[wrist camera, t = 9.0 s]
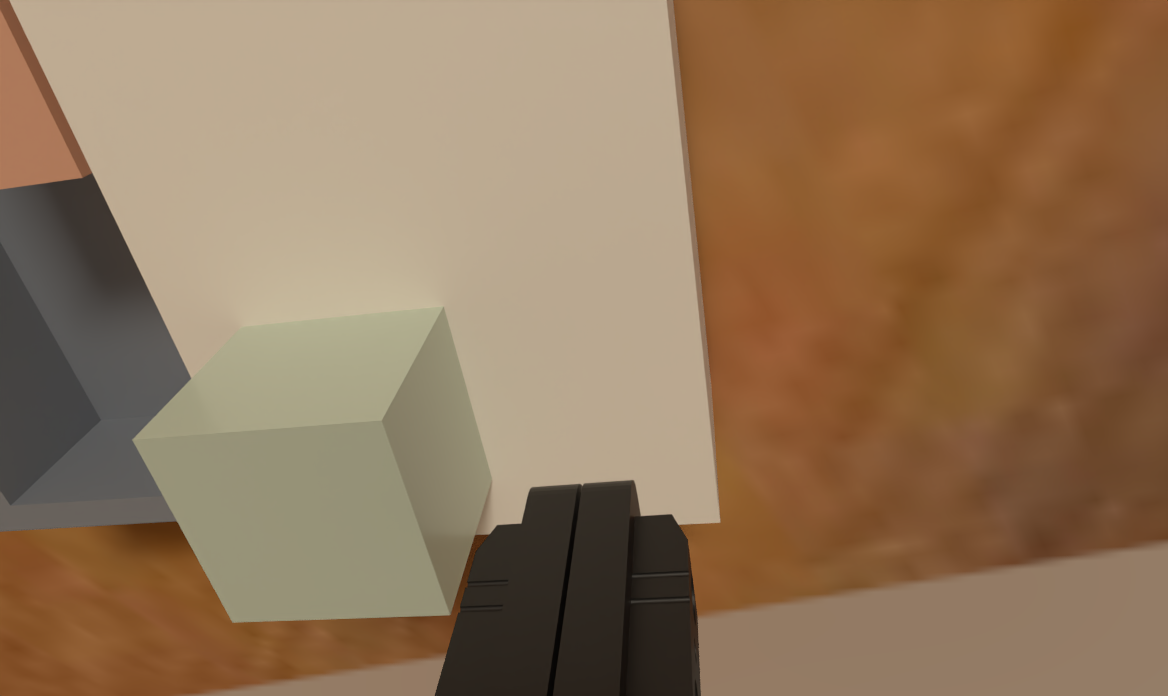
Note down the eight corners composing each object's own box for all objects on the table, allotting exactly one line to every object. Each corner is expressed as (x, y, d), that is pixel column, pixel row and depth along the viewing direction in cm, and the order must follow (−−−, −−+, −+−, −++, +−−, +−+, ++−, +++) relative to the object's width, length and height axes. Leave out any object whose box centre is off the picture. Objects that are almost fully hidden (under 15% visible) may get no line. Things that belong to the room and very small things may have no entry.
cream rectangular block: (644, -292, 14) (629, -368, 9) (711, 387, 20) (720, 522, 16) (128, -176, 15) (-85, -195, 11) (350, 416, 22) (271, 545, 18)
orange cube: (-38, -69, 12) (-219, -31, 13) (82, 177, 14) (-81, 200, 15) (116, -81, 16) (-33, -51, 16) (197, 119, 18) (60, 140, 18)
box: (128, -176, 15) (-31, -191, 12) (350, 416, 22) (290, 514, 19) (-210, -100, 17) (-439, -94, 13) (98, 436, 24) (-1, 531, 20)
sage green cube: (443, 306, 14) (382, 420, 11) (492, 479, 16) (450, 615, 13) (241, 327, 15) (131, 439, 12) (311, 489, 17) (232, 622, 14)
